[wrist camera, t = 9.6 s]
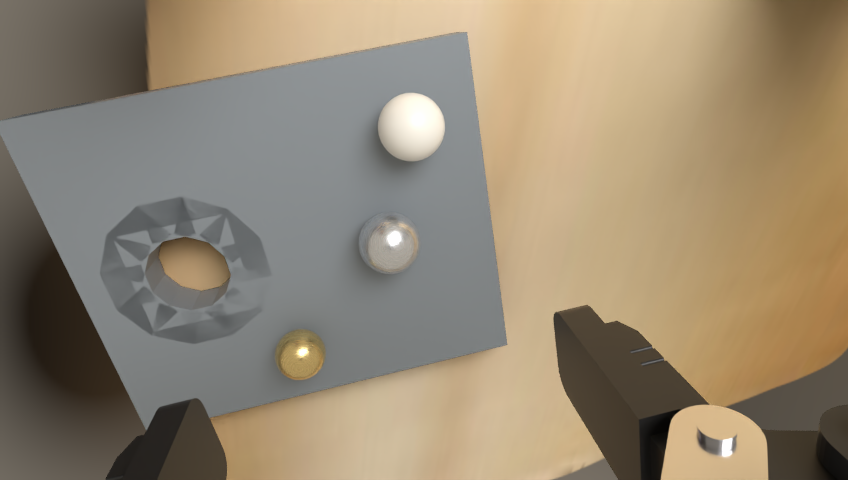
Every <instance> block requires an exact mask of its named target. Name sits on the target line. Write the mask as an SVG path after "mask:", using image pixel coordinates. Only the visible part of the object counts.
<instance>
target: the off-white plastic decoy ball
mask: <svg viewBox="0 0 848 480" xmlns="http://www.w3.org/2000/svg"><path fill="white" fill-rule="evenodd" d="M378 133H379V137H380V140H381V143H382V144H383V146H384V147H385V149H386V150H387V151H388V152H389V153H390V154H391V155H393V156H394V157H396V158H398V159H401V160H404V161H419V160H423V159H425V158H427V157H429V156H430V155H432V154H433V153H434V152H435V151H436V150H437V149H438V148H439V146H440V144H441V142H442V140H443V137H444V133H445V121H444V117H443V114H442V112H441V110H440V108H439V107H438V106H437V104H436V103H435V102H434V101H433V100H431V99H430V98H428V97H427V96H424V95H422V94H418V93H404V94H400V95H398V96H396V97H394V98H393V99H391V100H390V101H389V102H388V103H387V104H386V105H385V106H384V108H383V110H382V111H381V114H380V116H379V120H378Z"/></svg>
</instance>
